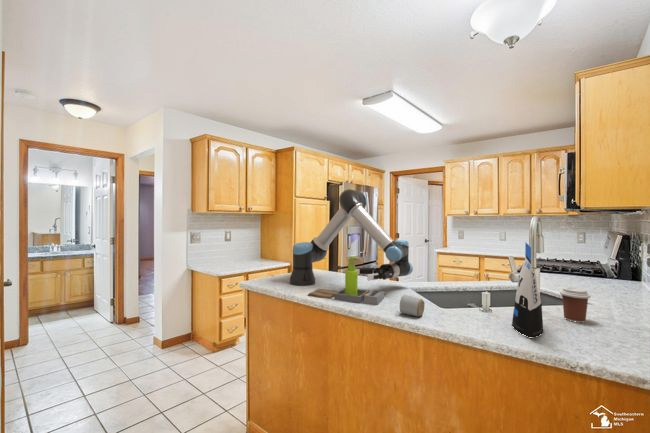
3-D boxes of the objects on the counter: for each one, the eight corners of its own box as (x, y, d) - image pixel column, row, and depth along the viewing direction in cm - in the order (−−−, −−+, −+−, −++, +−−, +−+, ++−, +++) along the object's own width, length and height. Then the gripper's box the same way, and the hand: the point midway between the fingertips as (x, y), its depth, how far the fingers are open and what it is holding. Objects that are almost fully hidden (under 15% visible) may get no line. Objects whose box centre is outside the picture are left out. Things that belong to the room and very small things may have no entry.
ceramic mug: (418, 319, 118) (419, 299, 118) (398, 315, 122) (399, 296, 123) (427, 313, 126) (428, 294, 126) (408, 309, 131) (409, 291, 131)
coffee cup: (594, 321, 116) (594, 290, 116) (583, 325, 112) (584, 293, 112) (566, 314, 124) (566, 285, 124) (555, 318, 120) (555, 287, 120)
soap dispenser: (356, 300, 143) (356, 258, 143) (343, 298, 146) (343, 257, 146) (361, 297, 148) (361, 256, 148) (348, 295, 151) (348, 255, 151)
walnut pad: (319, 290, 162) (319, 288, 162) (339, 293, 156) (339, 291, 156) (308, 295, 151) (308, 293, 151) (330, 298, 146) (330, 296, 146)
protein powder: (539, 320, 118) (540, 242, 118) (547, 342, 97) (548, 248, 97) (510, 315, 123) (511, 241, 122) (512, 336, 102) (513, 246, 101)
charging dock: (344, 293, 156) (344, 285, 156) (384, 298, 147) (384, 290, 147) (334, 299, 144) (334, 291, 144) (376, 305, 135) (376, 296, 135)
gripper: (407, 282, 150) (376, 288, 138) (372, 274, 171) (342, 278, 159) (407, 267, 150) (376, 271, 138) (372, 260, 171) (342, 264, 159)
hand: (358, 275), depth 148 cm, fingers open, 13 cm apart
